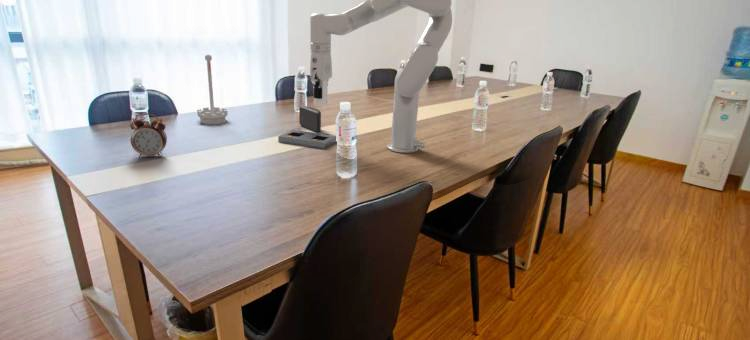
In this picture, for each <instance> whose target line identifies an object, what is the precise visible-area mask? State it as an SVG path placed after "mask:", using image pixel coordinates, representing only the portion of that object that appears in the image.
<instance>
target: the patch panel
mask: <svg viewBox="0 0 750 340" xmlns="http://www.w3.org/2000/svg"><path fill="white" fill-rule="evenodd" d="M336 136H337V135H331V134H324V133H320V132H319V133H317V132H313V131H312V132H310V131H304V130H298V129H297V130H296V129H293V130H290V131H288V132H285V133H283V134H280V135H278V143H282V144H289V145H297V146H302V147H310V148H316V149H322V150H325V149H326V148H328V147H330V146H331V145H334V144H335V143H337V142H336Z"/></svg>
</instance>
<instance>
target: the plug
mask: <svg viewBox="0 0 750 340" xmlns="http://www.w3.org/2000/svg"><path fill="white" fill-rule="evenodd" d="M317 80H319V79H317ZM317 82H318V83H319V81H317ZM328 82H329V80H328V79H326V80H322V81H321V88H322V99H317V98H314V97H313V106H316V107H317V106H318V107H325V106H327V105H328V90H329V89H328V85H329V83H328Z"/></svg>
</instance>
